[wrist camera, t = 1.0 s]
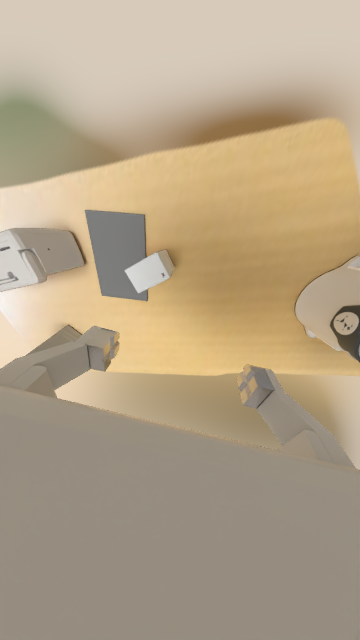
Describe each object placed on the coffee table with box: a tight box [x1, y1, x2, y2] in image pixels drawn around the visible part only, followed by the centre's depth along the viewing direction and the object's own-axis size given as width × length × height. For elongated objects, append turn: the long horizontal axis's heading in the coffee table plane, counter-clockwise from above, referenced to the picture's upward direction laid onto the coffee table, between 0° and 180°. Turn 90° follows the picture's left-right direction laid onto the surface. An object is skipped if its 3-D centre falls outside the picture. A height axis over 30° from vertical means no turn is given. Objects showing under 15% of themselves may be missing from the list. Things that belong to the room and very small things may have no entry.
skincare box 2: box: [124, 250, 174, 293], centre depth 28 cm, size 6×4×12 cm
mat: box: [85, 210, 148, 301], centre depth 34 cm, size 12×18×1 cm, turn 176°
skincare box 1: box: [27, 325, 82, 355], centre depth 41 cm, size 8×7×16 cm
